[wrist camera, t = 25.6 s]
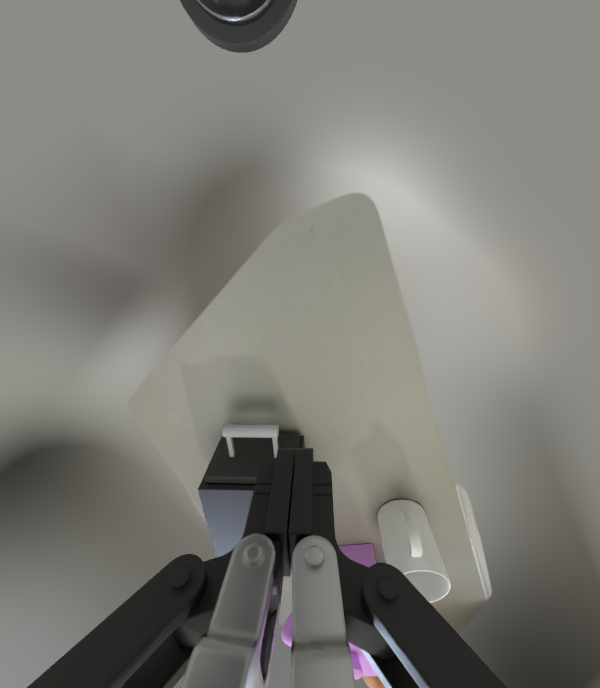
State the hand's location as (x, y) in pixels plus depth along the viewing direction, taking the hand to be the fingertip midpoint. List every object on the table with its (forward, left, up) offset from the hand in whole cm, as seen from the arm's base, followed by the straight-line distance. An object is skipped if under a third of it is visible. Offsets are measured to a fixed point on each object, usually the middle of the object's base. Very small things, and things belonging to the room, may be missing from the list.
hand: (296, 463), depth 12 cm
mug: (+37, -5, -25) cm, 45 cm away
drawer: (+17, -19, -24) cm, 34 cm away
